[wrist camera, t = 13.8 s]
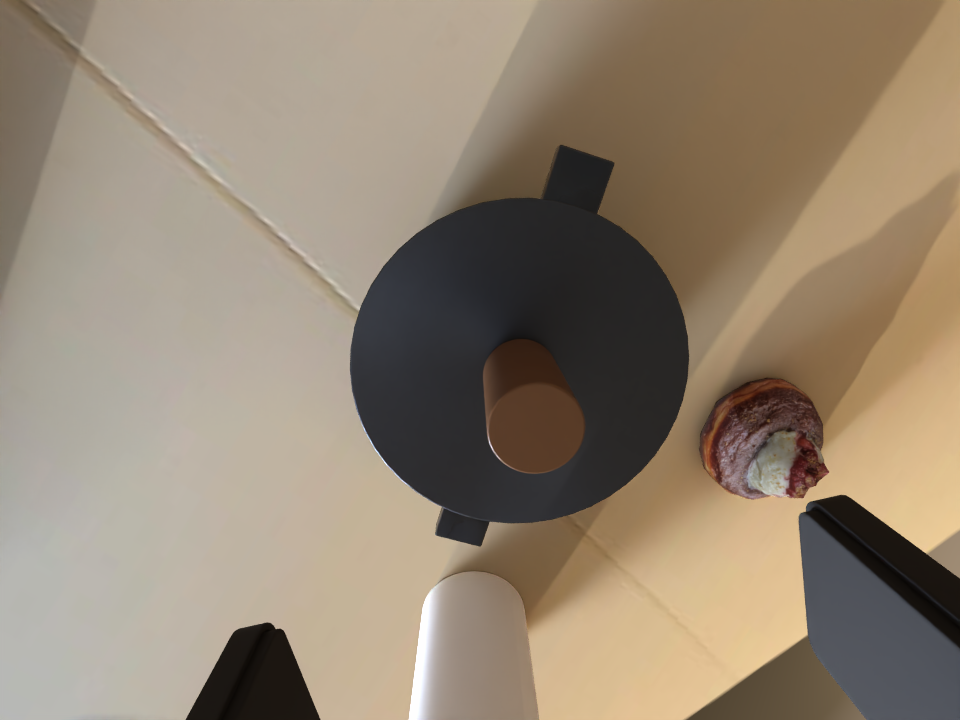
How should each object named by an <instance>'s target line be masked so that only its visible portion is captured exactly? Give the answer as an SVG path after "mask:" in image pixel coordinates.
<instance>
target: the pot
mask: <svg viewBox="0 0 960 720" xmlns="http://www.w3.org/2000/svg"><path fill="white" fill-rule="evenodd" d="M613 167H614V162H612V161H609V160H606V159H603V158H600V157H597V156H594V155H591V154H588V153H585V152H582V151H579V150H576V149H573V148H570V147H567V146H564V145H560V146H558V147H557V148H556V151H555V154H554V157H553V160H552V163H551V167H550V170H549V173H548V176H547V179H546V182H545V185H544V189H543V192H542V195H541V198H540V199H546V200H555V201H559V202H563V203H567V204H571V205H575V206H578V207H581V208H583V209H586V210H588V211H591V212H593V213H596V214H597V212H598V210H599V207H600V204H601V201H602V198H603V195H604V192H605V190H606V187H607V184H608V181H609V178H610V175H611V172H612V169H613ZM489 522H490V521H485V520H480V519H475V518H471V517H468V516H464V515H461V514H458V513H455V512H452V511H450V510H448V509H446V508H444V507H442V508H441V511H440V514H439V517H438V520H437V524H436V532H435V535H436V536H440V537H444V538H448V539H452V540H456V541H460V542H464V543H468V544H472V545H476V546H480V547H481V545H482V542H483V539H484V537H485V534H486V531H487V528H488V525H489Z"/></svg>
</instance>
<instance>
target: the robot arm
mask: <svg viewBox="0 0 960 720" xmlns="http://www.w3.org/2000/svg"><path fill="white" fill-rule="evenodd" d="M799 531H800V543H801V556H802V568H803V580H804V592H805V605H806V617H807V629H808V637H809V641H810V644H811V646H812V649H813V651H814V652H815V654H816V656H817V658H818V659H819V660H820V662H821V663H822V664H823V665H824V667H825V668H826V669H827V670H828V672H829V673H830V674H831V676H832V677H833V678H834V679H835V680H836V682H837V683H838V684H839V686H840V687H841V688H842V689H843V691H844V692H845V693H846V694H847V695H848V697H849V698H850V699H851V701H852V702H853V703H854V704H855V706H856V707H857V708H858V709H859V711H860V712H861V713H862V714H863V716H864V717H865V718H866V719H867V720H960V578H958V577H957V576H956V575H954V574H953V573H951V572H950V571H949V570H947V569H946V568H945V567H943V566H942V565H941V564H939V563H938V562H936V561H935V560H934V559H932V558H931V557H930V556H928V555H927V554H926V553H924V552H923V551H922V550H920V549H919V548H918V547H916V546H915V545H913V544H912V543H911V542H909V541H908V540H907V539H905V538H904V537H903V536H901V535H900V534H899V533H897V532H896V531H895V530H893V529H892V528H890V527H889V526H888V525H886V524H885V523H884V522H882V521H881V520H880V519H878V518H877V517H876V516H874V515H873V514H871V513H870V512H869V511H867V510H866V509H865V508H863V507H862V506H861V505H859V504H858V503H857V502H855V501H854V500H852V499H851V498H849V497H848V496H846V495H838V496H834V497H829V498H825V499H820V500H816V501H811V502H809V503H808V504H807V506H806V512H803V513H801V514H800V515H799ZM186 720H320V718H319V715H318V713H317V710H316V708H315V705H314V703H313V701H312V698H311V696H310V693H309V691H308V688H307V686H306V683H305V681H304V678H303V676H302V673H301V671H300V669H299V666H298V664H297V661H296V659H295V656H294V654H293V651H292V649H291V646H290V644H289V642H288V639H287V637H286V634H285V633H284V631H283V630H282V629H275V627H274V625H272V624H271V623H263V624H258V625H254V626H249V627H245V628H240V629H238V630H236V631H235V632H234V633H233V634H232V636H231V637H230V639H229V641H228V643H227V645H226V647H225V648H224V650H223V652H222V654H221V656H220V658H219V659H218V661H217V663H216V665H215V667H214V669H213V670H212V672H211V674H210V676H209V678H208V680H207V681H206V683H205V685H204V687H203V689H202V691H201V692H200V694H199V696H198V698H197V700H196V702H195V703H194V705H193V707H192V709H191V711H190V713H189V715H188V716H187V718H186Z"/></svg>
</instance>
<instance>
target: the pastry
mask: <svg viewBox="0 0 960 720" xmlns="http://www.w3.org/2000/svg"><path fill="white" fill-rule="evenodd" d="M822 445H823V423H822V421H821V419H820V417H819V415H818V413H817V411H816V409H815V406H814V404H813V402H812V401H811V400H810V399H809V397H808V396H807V395H806V394H805V393H803V392H802V391H801V390H800V389H798V388H797V387H796V386H794V385H793V384H791V383H789V382H787V381H785V380H783V379H772V378H765V379H761V380H757V381H752V382H748V383H746V384H744V385H742V386H741V387H739V388H737V389H736V390H734V391H732V392H731V393H729V394H728V395H726V396H725V397H723V398H722V399H721V400H719V401H718V402H716V404H715V406H714V408H713V410H712V412H711V414H710V416H709V418H708V420H707V422H706V423H705V425H704V427H703V429H702V431H701V435H700V446H699V451H700V455H701V459H702V462H703V466H704V469H705V470H706V471H707V472H708V473H709V475H710V476H711V477H712V478H713V479H714V480H715V481H716V482H717V483H718V484H720V485H721V486H722V487H723V488H724V489H725V490H726V491H727V492H729V493H732V494H734V495H736V496H739V497H741V498H745V499H759V498H766V497H770V496H776V497H786V496H787V497H790V498H792V497H793V498H804V496H805V494H806V492H807V491H808V489H809V488H810V487H813V486H816V485H817V483H818V481H819V480H820V479H822V478H823V477H824V476H825V475H827V474H828V473H829V471H828V469H827V468H826V466H825V464H824V459H823V456H822V454H821V448H822Z"/></svg>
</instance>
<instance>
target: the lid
mask: <svg viewBox="0 0 960 720" xmlns="http://www.w3.org/2000/svg"><path fill="white" fill-rule="evenodd" d="M688 364H689V350H688V335H687V330H686V325H685V321H684V316H683V313H682V310H681V307H680V304H679V301H678V298H677V296H676V293H675V291H674V290H673V288H672V286H671V284H670V282H669V280H668V278H667V276H666V274H665V273H664V272H663V270H662V269H661V267H660V266H659V265H658V263H657V262H656V261H655V259H654V258H653V256H652V255H651V254H650V253H649V252H648V251H647V250H646V249H645V248H644V247H643V246H642V245H641V244H640V243H639V242H638V241H637V240H636V239H635V238H633V237H632V236H631V235H629V234H628V233H627V232H626V231H624V230H623V229H622V228H620V227H619V226H617V225H616V224H614V223H612V222H611V221H609V220H607V219H605V218H604V217H602V216H600V215H598V214H596V213H593V212H591V211H588V210H586V209H583V208H581V207H578V206H575V205H571V204H567V203H563V202H559V201H555V200H546V199H537V198H508V199H500V200H495V201H489V202H483V203H479V204H476V205H473V206H470V207H467V208H463V209H460V210H458V211H455V212H453V213H451V214H449V215H447V216H445V217H443V218H441V219H439V220H437V221H435V222H433V223H432V224H430V225H429V226H427V227H426V228H424V229H423V230H421V231H420V232H418V233H417V234H416V235H414V236H413V237H412V238H411V239H410V240H409V241H407V242H406V243H405V244H404V245H403V246H402V247H400V248H399V249H398V251H397V252H396V253H395V254H394V255H393V256H392V257H391V258H390V260H389V261H388V262H387V263H386V264H385V265H384V266H383V268H382V270H381V271H380V273H379V274H378V276H377V277H376V279H375V280H374V282H373V283H372V285H371V286H370V289H369V291H368V293H367V295H366V297H365V299H364V301H363V303H362V305H361V308H360V311H359V314H358V317H357V321H356V324H355V327H354V333H353V338H352V344H351V356H350V375H351V384H352V392H353V396H354V400H355V405H356V409H357V412H358V415H359V417H360V420H361V422H362V425H363V427H364V430H365V432H366V434H367V436H368V437H369V439H370V441H371V443H372V445H373V446H374V448H375V450H376V451H377V452H378V454H379V455H380V456H381V458H382V459H383V460H384V462H385V463H386V464H387V466H388V467H389V468H390V469H391V470H392V471H393V472H394V473H395V474H396V475H397V476H398V477H399V478H400V479H401V480H402V481H403V482H404V483H406V484H407V485H408V486H409V487H411V488H412V489H413V490H414V491H416V492H417V493H418V494H420V495H422V496H423V497H425V498H427V499H428V500H430V501H431V502H433V503H435V504H437V505H439V506H441V507H444V508H446V509H448V510H450V511H452V512H455V513H458V514H461V515H464V516H468V517H471V518H475V519H480V520H485V521H490V522H501V523H533V522H539V521H546V520H552V519H556V518H559V517H563V516H567V515H570V514H573V513H576V512H578V511H581V510H583V509H586V508H588V507H591V506H593V505H595V504H596V503H598V502H600V501H602V500H604V499H606V498H607V497H609V496H611V495H612V494H614V493H615V492H616V491H618V490H619V489H621V488H622V487H623V486H625V485H626V484H627V483H628V482H630V481H631V480H632V479H633V478H634V477H635V476H636V475H637V474H638V473H640V472H641V471H642V470H643V468H644V467H645V466H646V465H647V464H648V463H649V461H650V460H651V459H652V458H653V457H654V456H655V454H656V453H657V451H658V450H659V448H660V447H661V446H662V444H663V443H664V441H665V440H666V438H667V436H668V434H669V432H670V430H671V428H672V426H673V424H674V422H675V420H676V418H677V415H678V412H679V410H680V407H681V404H682V401H683V397H684V393H685V388H686V383H687V377H688Z"/></svg>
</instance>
